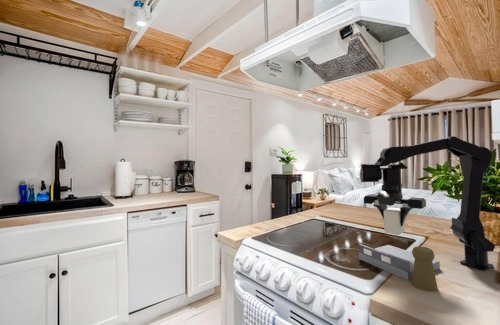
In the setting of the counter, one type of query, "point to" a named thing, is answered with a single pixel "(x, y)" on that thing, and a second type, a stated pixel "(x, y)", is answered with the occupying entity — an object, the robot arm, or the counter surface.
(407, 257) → the shelf
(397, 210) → the tea box
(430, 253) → the olive pawn
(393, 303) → the counter surface
